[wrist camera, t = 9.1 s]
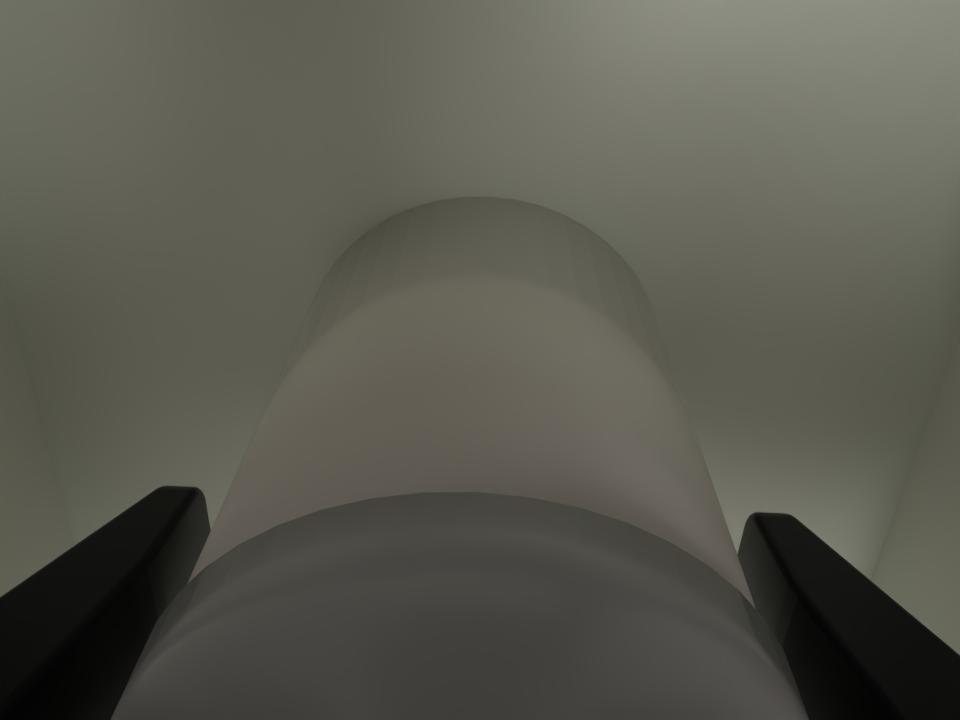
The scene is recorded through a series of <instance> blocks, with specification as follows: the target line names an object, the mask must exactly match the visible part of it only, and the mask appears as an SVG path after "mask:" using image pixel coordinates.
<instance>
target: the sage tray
mask: <svg viewBox="0 0 960 720" xmlns="http://www.w3.org/2000/svg"><path fill="white" fill-rule="evenodd" d="M460 197H497V198H506V199H515V200H519V201H523V202H528V203H532V204H536V205H540V206H543V207H545V208H548V209H551V210H553V211H556V212H559V213H561V214H564V215H565V216H567V217H569V218H571V219H573V220H575V221H577V222H579V223H580V224H582V225H584V226H586V227H587V228H588V229H590V230H591V231H593V232H594V233H595V234H597V235H598V236H600V237H601V238H602V239H604V240H605V241H606V242H607V243H608V244H609V245H610V246H611V247H612V248H613V249H614V250H615V251H616V252H617V253H619V254H620V255H621V256H622V258H623V259H624V260H625V261H626V263H627V264H628V265H629V267H630V268H631V269H632V270H633V272H634V273H635V274H636V276H637V278H638V279H639V281H640V283H641V285H642V286H643V288H644V290H645V292H646V294H647V296H648V299H649V301H650V304H651V306H652V309H653V312H654V314H655V317H656V320H657V323H658V326H659V329H660V332H661V335H662V338H663V340H664V343H665V346H666V349H667V352H668V355H669V358H670V361H671V364H672V367H673V370H674V372H675V375H676V378H677V381H678V384H679V387H680V390H681V393H682V396H683V399H684V401H685V404H686V407H687V410H688V413H689V416H690V419H691V422H692V425H693V428H694V431H695V433H696V436H697V439H698V442H699V445H700V448H701V451H702V454H703V457H704V460H705V463H706V465H707V468H708V471H709V474H710V477H711V480H712V483H713V486H714V489H715V492H716V494H717V497H718V500H719V503H720V506H721V509H722V512H723V515H724V518H725V521H726V524H727V526H728V529H729V532H730V535H731V538H732V541H733V544H734V547H735V550H736V553H737V554H738V550H739V546H740V542H741V538H742V534H743V530H744V526H745V523H746V520H747V519H748V517H749V515H751V514H752V513H754V512H770V513H786V514H790V515H792V516H794V517H795V518H797V519H798V520H799V521H800V522H801V523H803V524H804V525H805V526H806V527H807V528H809V529H810V530H811V531H812V532H813V533H814V534H816V535H817V536H818V537H819V538H820V539H822V540H823V541H824V542H825V543H826V544H828V545H829V546H830V547H831V548H832V549H834V550H835V551H836V552H837V553H838V554H840V555H841V556H842V557H843V558H844V559H846V560H847V561H848V562H849V563H850V564H852V565H853V566H854V567H855V568H856V569H858V570H859V571H860V572H861V573H862V574H864V575H865V576H866V577H867V578H868V579H870V580H871V581H872V582H873V583H874V584H876V585H877V586H878V587H879V588H880V589H881V590H883V591H884V592H885V593H886V594H887V595H889V596H890V597H891V598H892V599H893V600H895V601H896V602H897V603H898V604H899V605H901V606H902V607H903V608H904V609H905V610H907V611H908V612H909V613H910V614H911V615H913V616H914V617H915V618H916V619H917V620H919V621H920V622H921V623H922V624H923V625H925V626H926V627H927V628H928V629H929V630H931V631H932V632H933V633H934V634H935V635H937V636H938V637H939V638H940V639H941V640H943V641H944V642H945V643H946V644H947V645H948V646H950V647H951V648H952V649H953V650H954V651H956V652H957V653H958V654H959V655H960V0H0V597H1V596H2V595H4V594H5V593H7V592H8V591H10V590H11V589H13V588H14V587H15V586H17V585H18V584H20V583H21V582H23V581H24V580H25V579H27V578H28V577H30V576H31V575H33V574H34V573H36V572H37V571H38V570H40V569H41V568H43V567H44V566H46V565H47V564H49V563H50V562H51V561H53V560H54V559H56V558H57V557H59V556H60V555H62V554H63V553H64V552H66V551H67V550H69V549H70V548H72V547H73V546H75V545H76V544H77V543H79V542H80V541H82V540H83V539H85V538H86V537H87V536H89V535H90V534H92V533H93V532H95V531H96V530H98V529H99V528H100V527H102V526H103V525H105V524H106V523H108V522H109V521H111V520H112V519H113V518H115V517H116V516H118V515H119V514H121V513H122V512H124V511H125V510H126V509H128V508H129V507H131V506H132V505H134V504H135V503H137V502H138V501H139V500H141V499H142V498H144V497H145V496H147V495H148V494H150V493H151V492H152V491H154V490H155V489H157V488H159V487H161V486H168V485H169V486H191V487H198V488H199V489H200V490H202V492H203V494H204V496H205V499H206V504H207V511H208V517H209V523H210V529H212V527H213V524H214V522H215V520H216V518H217V515H218V513H219V511H220V509H221V506H222V504H223V502H224V500H225V497H226V495H227V493H228V491H229V488H230V486H231V484H232V482H233V479H234V477H235V475H236V473H237V470H238V468H239V466H240V464H241V461H242V459H243V457H244V455H245V452H246V450H247V448H248V446H249V443H250V441H251V439H252V437H253V434H254V432H255V430H256V428H257V425H258V423H259V421H260V419H261V416H262V414H263V412H264V410H265V407H266V405H267V403H268V401H269V398H270V396H271V394H272V392H273V389H274V387H275V385H276V383H277V380H278V378H279V376H280V374H281V371H282V369H283V367H284V365H285V362H286V360H287V358H288V356H289V353H290V351H291V349H292V347H293V344H294V342H295V340H296V338H297V335H298V333H299V331H300V329H301V326H302V324H303V322H304V320H305V317H306V315H307V313H308V311H309V308H310V306H311V304H312V301H313V299H314V297H315V295H316V293H317V291H318V289H319V287H320V285H321V283H322V281H323V279H324V278H325V276H326V275H327V273H328V272H329V270H330V269H331V267H332V266H333V265H334V263H335V262H336V260H337V259H338V258H339V257H340V256H341V255H342V254H343V253H344V252H345V251H346V250H347V249H348V248H349V247H350V245H351V244H353V243H354V242H355V241H356V240H358V239H359V238H360V237H361V236H363V235H364V234H365V233H366V232H368V231H369V230H370V229H372V228H374V227H375V226H377V225H379V224H380V223H382V222H384V221H385V220H387V219H389V218H390V217H393V216H395V215H397V214H400V213H402V212H404V211H407V210H409V209H411V208H414V207H417V206H421V205H425V204H428V203H432V202H435V201H440V200H447V199H453V198H460Z"/></svg>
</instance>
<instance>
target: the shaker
mask: <svg viewBox="0 0 960 720" xmlns="http://www.w3.org/2000/svg"><path fill="white" fill-rule="evenodd" d="M110 720H809V717H808V714H807V712H806V709H805V706H804V703H803V701H802V698H801V695H800V692H799V690H798V687H797V684H796V681H795V679H794V676H793V673H792V671H791V668H790V666H789V663H788V660H787V658H786V655H785V653H784V650H783V648H782V646H781V644H780V643H779V641H778V640H777V638H776V636H775V635H774V633H773V632H772V630H771V628H770V627H769V625H768V624H767V622H766V620H765V619H764V618H763V617H762V616H761V614H760V613H759V612H758V611H757V610H756V608H755V605H754V602H753V599H752V596H751V593H750V590H749V587H748V585H747V582H746V579H745V576H744V573H743V570H742V567H741V564H740V561H739V558H738V556H737V553H736V550H735V547H734V544H733V541H732V538H731V535H730V532H729V529H728V526H727V524H726V521H725V518H724V515H723V512H722V509H721V506H720V503H719V500H718V497H717V494H716V492H715V489H714V486H713V483H712V480H711V477H710V474H709V471H708V468H707V465H706V463H705V460H704V457H703V454H702V451H701V448H700V445H699V442H698V439H697V436H696V433H695V431H694V428H693V425H692V422H691V419H690V416H689V413H688V410H687V407H686V404H685V401H684V399H683V396H682V393H681V390H680V387H679V384H678V381H677V378H676V375H675V372H674V370H673V367H672V364H671V361H670V358H669V355H668V352H667V349H666V346H665V343H664V340H663V338H662V335H661V332H660V329H659V326H658V323H657V320H656V317H655V314H654V312H653V309H652V306H651V304H650V301H649V299H648V296H647V294H646V292H645V290H644V288H643V286H642V285H641V283H640V281H639V279H638V278H637V276H636V274H635V273H634V272H633V270H632V269H631V268H630V267H629V265H628V264H627V263H626V261H625V260H624V259H623V258H622V256H621V255H620V254H619V253H617V252H616V251H615V250H614V249H613V248H612V247H611V246H610V245H609V244H608V243H607V242H606V241H605V240H604V239H602V238H601V237H600V236H598V235H597V234H595V233H594V232H593V231H591V230H590V229H588V228H587V227H586V226H584V225H582V224H580V223H579V222H577V221H575V220H573V219H571V218H569V217H567V216H565V215H564V214H561V213H559V212H556V211H553V210H551V209H548V208H545V207H543V206H540V205H536V204H532V203H528V202H523V201H519V200H515V199H506V198H497V197H460V198H453V199H447V200H440V201H435V202H432V203H428V204H425V205H421V206H417V207H414V208H411V209H409V210H407V211H404V212H402V213H400V214H397V215H395V216H393V217H390V218H389V219H387V220H385V221H384V222H382V223H380V224H379V225H377V226H375V227H374V228H372V229H370V230H369V231H368V232H366V233H365V234H364V235H363V236H361V237H360V238H359V239H358V240H356V241H355V242H354V243H353V244H351V245H350V247H349V248H348V249H347V250H346V251H345V252H344V253H343V254H342V255H341V256H340V257H339V258H338V259H337V260H336V262H335V263H334V265H333V266H332V267H331V269H330V270H329V272H328V273H327V275H326V276H325V278H324V279H323V281H322V283H321V285H320V287H319V289H318V291H317V293H316V295H315V297H314V299H313V301H312V304H311V306H310V308H309V311H308V313H307V315H306V317H305V320H304V322H303V324H302V326H301V329H300V331H299V333H298V335H297V338H296V340H295V342H294V344H293V347H292V349H291V351H290V353H289V356H288V358H287V360H286V362H285V365H284V367H283V369H282V371H281V374H280V376H279V378H278V380H277V383H276V385H275V387H274V389H273V392H272V394H271V396H270V398H269V401H268V403H267V405H266V407H265V410H264V412H263V414H262V416H261V419H260V421H259V423H258V425H257V428H256V430H255V432H254V434H253V437H252V439H251V441H250V443H249V446H248V448H247V450H246V452H245V455H244V457H243V459H242V461H241V464H240V466H239V468H238V470H237V473H236V475H235V477H234V479H233V482H232V484H231V486H230V488H229V491H228V493H227V495H226V497H225V500H224V502H223V504H222V506H221V509H220V511H219V513H218V515H217V518H216V520H215V522H214V524H213V527H212V529H211V531H210V534H209V536H208V538H207V540H206V543H205V545H204V547H203V549H202V552H201V554H200V556H199V558H198V561H197V563H196V565H195V567H194V570H193V572H192V574H191V576H190V579H189V581H188V583H187V585H186V586H185V587H184V588H183V589H181V590H180V591H179V592H178V593H177V595H176V596H175V597H174V599H173V600H172V601H171V603H170V604H169V605H168V607H167V608H166V609H165V611H164V612H163V613H162V615H161V616H160V617H159V619H158V620H157V622H156V624H155V626H154V628H153V630H152V632H151V634H150V636H149V638H148V640H147V642H146V644H145V646H144V648H143V650H142V652H141V655H140V657H139V659H138V661H137V663H136V665H135V668H134V670H133V672H132V674H131V676H130V678H129V680H128V683H127V685H126V687H125V689H124V691H123V693H122V696H121V698H120V700H119V702H118V704H117V706H116V709H115V711H114V713H113V715H112V717H111V719H110Z"/></svg>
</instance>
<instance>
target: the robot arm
mask: <svg viewBox="0 0 960 720" xmlns="http://www.w3.org/2000/svg"><path fill="white" fill-rule="evenodd" d="M210 531H211V529H210V523H209V517H208V511H207V504H206V499H205V496H204V494H203V492H202V490H200V489H199V488H198V487H191V486H169V485H168V486H161V487H159V488H157V489H155V490H154V491H152V492H151V493H150V494H148V495H147V496H145V497H144V498H142V499H141V500H139V501H138V502H137V503H135V504H134V505H132V506H131V507H129V508H128V509H126V510H125V511H124V512H122V513H121V514H119V515H118V516H116V517H115V518H113V519H112V520H111V521H109V522H108V523H106V524H105V525H103V526H102V527H100V528H99V529H98V530H96V531H95V532H93V533H92V534H90V535H89V536H87V537H86V538H85V539H83V540H82V541H80V542H79V543H77V544H76V545H75V546H73V547H72V548H70V549H69V550H67V551H66V552H64V553H63V554H62V555H60V556H59V557H57V558H56V559H54V560H53V561H51V562H50V563H49V564H47V565H46V566H44V567H43V568H41V569H40V570H38V571H37V572H36V573H34V574H33V575H31V576H30V577H28V578H27V579H25V580H24V581H23V582H21V583H20V584H18V585H17V586H15V587H14V588H13V589H11V590H10V591H8V592H7V593H5V594H4V595H2V596H1V597H0V720H110V719H111V717H112V715H113V713H114V711H115V709H116V706H117V704H118V702H119V700H120V698H121V696H122V693H123V691H124V689H125V687H126V685H127V683H128V680H129V678H130V676H131V674H132V672H133V670H134V668H135V665H136V663H137V661H138V659H139V657H140V655H141V652H142V650H143V648H144V646H145V644H146V642H147V640H148V638H149V636H150V634H151V632H152V630H153V628H154V626H155V624H156V622H157V620H158V619H159V617H160V616H161V615H162V613H163V612H164V611H165V609H166V608H167V607H168V605H169V604H170V603H171V601H172V600H173V599H174V597H175V596H176V595H177V593H178V592H179V591H180V590H181V589H183V588H184V587H185V586H186V585H187V583H188V581H189V579H190V576H191V574H192V572H193V570H194V567H195V565H196V563H197V561H198V558H199V556H200V554H201V552H202V549H203V547H204V545H205V543H206V540H207V538H208V536H209V534H210ZM737 556H738V558H739V561H740V564H741V567H742V570H743V573H744V576H745V579H746V582H747V585H748V587H749V590H750V593H751V596H752V599H753V602H754V605H755V608H756V610H757V611H758V612H759V613H760V614H761V616H762V617H763V618H764V619H765V620H766V622H767V624H768V625H769V627H770V628H771V630H772V632H773V633H774V635H775V636H776V638H777V640H778V641H779V643H780V644H781V646H782V648H783V650H784V653H785V655H786V658H787V660H788V663H789V666H790V668H791V671H792V673H793V676H794V679H795V681H796V684H797V687H798V690H799V692H800V695H801V698H802V701H803V703H804V706H805V709H806V712H807V714H808V717H809V720H960V655H959V654H958V653H957V652H956V651H954V650H953V649H952V648H951V647H950V646H948V645H947V644H946V643H945V642H944V641H943V640H941V639H940V638H939V637H938V636H937V635H935V634H934V633H933V632H932V631H931V630H929V629H928V628H927V627H926V626H925V625H923V624H922V623H921V622H920V621H919V620H917V619H916V618H915V617H914V616H913V615H911V614H910V613H909V612H908V611H907V610H905V609H904V608H903V607H902V606H901V605H899V604H898V603H897V602H896V601H895V600H893V599H892V598H891V597H890V596H889V595H887V594H886V593H885V592H884V591H883V590H881V589H880V588H879V587H878V586H877V585H876V584H874V583H873V582H872V581H871V580H870V579H868V578H867V577H866V576H865V575H864V574H862V573H861V572H860V571H859V570H858V569H856V568H855V567H854V566H853V565H852V564H850V563H849V562H848V561H847V560H846V559H844V558H843V557H842V556H841V555H840V554H838V553H837V552H836V551H835V550H834V549H832V548H831V547H830V546H829V545H828V544H826V543H825V542H824V541H823V540H822V539H820V538H819V537H818V536H817V535H816V534H814V533H813V532H812V531H811V530H810V529H809V528H807V527H806V526H805V525H804V524H803V523H801V522H800V521H799V520H798V519H797V518H795V517H794V516H792V515H790V514H786V513H770V512H754V513H752V514H751V515H749V517H748V519H747V520H746V523H745V526H744V530H743V534H742V538H741V542H740V546H739V550H738V554H737Z"/></svg>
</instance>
